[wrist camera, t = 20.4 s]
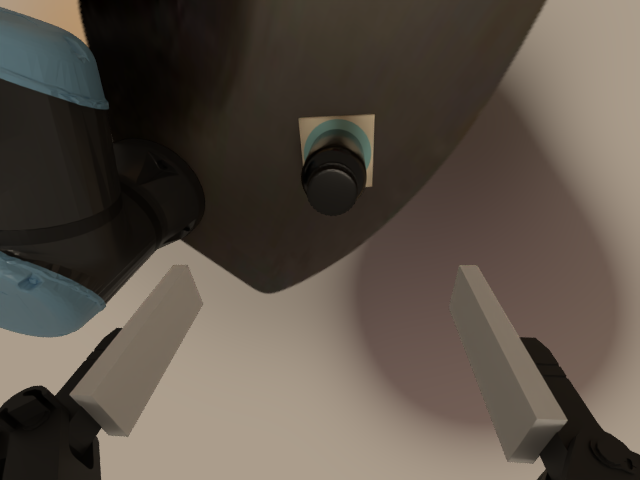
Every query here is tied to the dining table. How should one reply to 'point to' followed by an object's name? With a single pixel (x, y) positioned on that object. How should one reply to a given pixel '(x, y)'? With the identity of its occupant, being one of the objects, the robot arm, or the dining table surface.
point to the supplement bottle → (334, 172)
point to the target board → (354, 124)
